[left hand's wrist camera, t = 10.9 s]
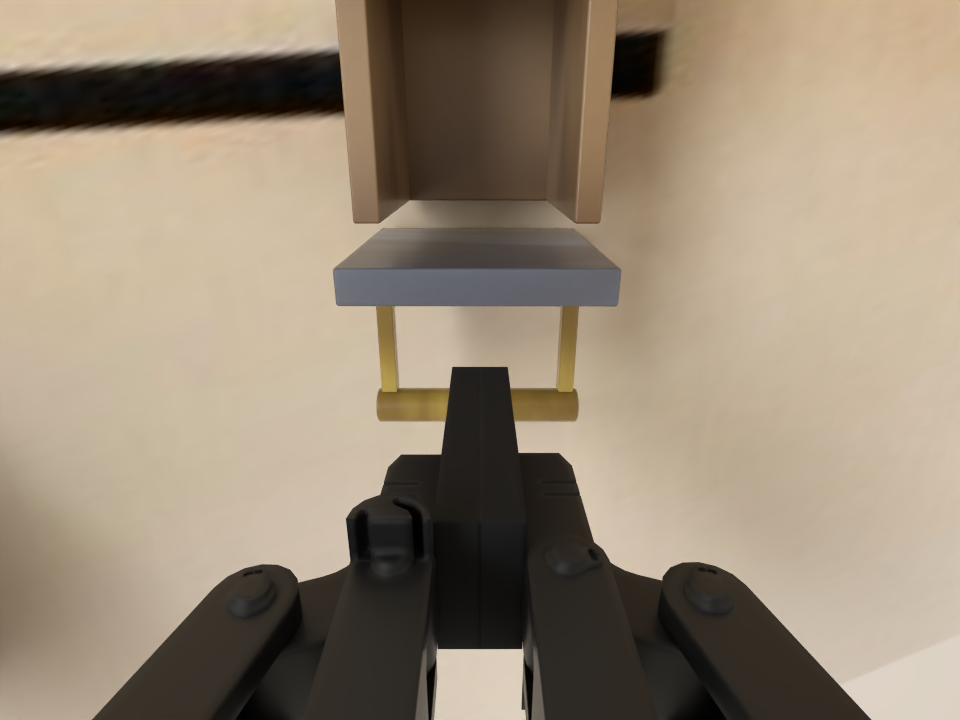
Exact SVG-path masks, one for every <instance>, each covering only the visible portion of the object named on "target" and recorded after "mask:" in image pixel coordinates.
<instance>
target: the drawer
mask: <svg viewBox="0 0 960 720" xmlns="http://www.w3.org/2000/svg"><path fill="white" fill-rule="evenodd" d="M335 4H336V16H337V28H338V40H339V52H340V64H341V77H342V89H343V101H344V113H345V125H346V137H347V150H348V162H349V174H350V186H351V198H352V210H353V222H354V223H380V222H381V221H383V220H384V219H385V218H387V217H388V216H389V215H391V214H392V213H393V212H395V211H396V210H397V209H399V208H400V207H401V206H403V205H404V204H405V203H407V202H408V201H409V200H547V201H548V202H549V203H551V204H552V205H553V206H554V207H556V208H557V209H558V210H559V211H561V212H562V213H563V214H564V215H566V216H567V217H568V218H570V219H571V220H572V221H573V222H575V223H586V224H597V223H600V221H601V210H602V198H603V185H604V173H605V160H606V148H607V136H608V123H609V111H610V98H611V86H612V73H613V61H614V49H615V36H616V24H617V11H618V0H335ZM333 276H334V286H335V296H336V304H337V305H338V306H376V311H377V325H378V339H379V353H380V367H381V381H382V388H380V389H379V391H378V395H377V416H378V420H379V421H405V422H446V414H447V406H448V399H449V391H450V388H399V375H398V357H397V340H396V323H395V306H561V311H560V329H559V346H558V363H557V381H556V387H557V388H510V391H511V399H512V406H513V414H514V422H575V421H576V420H577V417H578V408H579V404H578V394H577V391H576V389H574V388H573V383H574V369H575V354H576V340H577V326H578V312H579V306H617V305H618V299H619V289H620V279H621V269H620V268H619V267H617V266H616V265H615V264H614V263H613V262H612V261H611V260H609V259H608V258H607V257H606V256H605V255H604V254H602V253H601V252H600V251H599V250H598V249H597V248H596V247H594V246H593V245H592V244H591V243H590V242H589V241H587V240H586V239H585V238H584V237H583V236H582V235H580V234H579V233H578V232H577V231H576V230H575V229H540V228H383V229H381V230H380V231H379V232H378V233H376V234H375V235H374V236H373V237H372V238H370V239H369V240H368V241H367V242H365V243H364V244H363V245H362V246H361V247H359V248H358V249H357V250H356V251H355V252H353V253H352V254H351V255H350V256H349V257H347V258H346V259H345V260H344V261H342V262H341V263H340V264H339V265H338V266H336V267H335V268H334V269H333Z"/></svg>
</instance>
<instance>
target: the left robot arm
mask: <svg viewBox="0 0 960 720" xmlns="http://www.w3.org/2000/svg"><path fill="white" fill-rule="evenodd" d="M346 523H347V532H348V541H349V550H350V560H351V561H350V565H348V566H347V567H345V568H343V569H341V570H340V571H338V572H336V573H333V574H330V575H327V576H324V577H320V578H316V579H312V580H308V581H304V582H300V583H298V580H297V578H296V576H295V575H294V574H293V573H292V572H291V570H289V569H287V568H284V567H282V566H279V565H264V564H262V565H257V566H253V567H249V568H244V569H242V570H240V571H238V572H236V573H234V574H232V575H230V576H228V577H227V578H225V579H224V580H223V581H222V582H221V583H219V584H218V585H217V586H216V587H215V588H213V590H212V591H211V592H210V593H209V594H208V595H207V596H206V597H205V598H204V599H203V600H202V601H201V603H200V604H199V605H198V606H197V607H196V608H195V609H194V610H193V611H192V612H191V613H190V614H189V616H188V617H187V618H186V619H185V620H184V621H183V622H182V623H181V624H180V625H179V626H178V627H177V629H176V630H175V631H174V632H173V633H172V634H171V635H170V636H169V637H168V638H167V639H166V640H165V641H164V643H163V644H162V645H161V646H160V647H159V648H158V649H157V650H156V651H155V652H154V653H153V654H152V656H151V657H150V658H149V659H148V660H147V661H146V662H145V663H144V664H143V665H142V666H141V667H140V669H139V670H138V671H137V672H136V673H135V674H134V675H133V676H132V677H131V678H130V679H129V680H128V681H127V683H126V684H125V685H124V686H123V687H122V688H121V689H120V690H119V691H118V692H117V693H116V694H115V696H114V697H113V698H112V699H111V700H110V701H109V702H108V703H107V704H106V705H105V706H104V707H103V709H102V710H101V711H100V712H99V713H98V714H97V715H96V716H95V717H94V718H93V719H92V720H434V712H435V699H436V686H437V662H436V654H437V642H438V649H522V642H523V651H524V662H523V687H522V710H525V711H526V720H871V719H870V718H869V717H868V716H867V715H866V714H865V712H864V711H863V710H862V709H861V708H860V707H859V706H858V705H857V704H856V703H855V702H854V701H853V700H852V698H851V697H850V696H849V695H848V694H847V693H846V692H845V691H844V690H843V689H842V688H841V687H840V686H839V685H838V683H837V682H836V681H835V680H834V679H833V678H832V677H831V676H830V675H829V674H828V673H827V672H826V671H825V669H824V668H823V667H822V666H821V665H820V664H819V663H818V662H817V661H816V660H815V659H814V658H813V657H812V656H811V654H810V653H809V652H808V651H807V650H806V649H805V648H804V647H803V646H802V645H801V644H800V643H799V642H798V640H797V639H796V638H795V637H794V636H793V635H792V634H791V633H790V632H789V631H788V630H787V629H786V628H785V627H784V625H783V624H782V623H781V622H780V621H779V620H778V619H777V618H776V617H775V616H774V615H773V614H772V613H771V611H770V610H769V609H768V608H767V607H766V606H765V605H764V604H763V603H762V602H761V601H760V600H759V599H758V597H757V596H756V595H755V594H754V593H753V592H752V591H751V590H750V589H749V588H748V587H747V586H746V585H745V584H744V583H743V582H741V581H740V580H739V579H738V578H737V577H735V576H734V575H733V574H731V573H729V572H727V571H725V570H723V569H721V568H718V567H716V566H713V565H708V564H704V563H700V562H690V563H681V564H678V565H676V566H673V567H671V568H670V569H669V570H668V571H667V572H666V573H665V575H664V576H663V580H662V581H661V580H657V579H653V578H649V577H645V576H640V575H637V574H634V573H631V572H628V571H625V570H623V569H621V568H619V567H617V566H615V565H613V564H612V563H611V562H610V561H609V559H608V557H607V555H606V554H605V552H604V550H603V549H602V548H601V547H599V546H598V545H597V544H595V543H594V541H593V537H592V534H591V530H590V527H589V523H588V520H587V517H586V513H585V510H584V506H583V503H582V499H581V496H580V492H579V489H578V485H577V483H576V479H575V475H574V472H573V468H572V465H570V464H569V463H568V462H567V461H566V460H565V459H564V458H563V457H562V456H561V455H560V454H559V453H518V446H517V438H516V430H515V422H514V414H513V406H512V399H511V391H510V383H509V375H508V367H452V375H451V383H450V391H449V399H448V406H447V414H446V422H445V430H444V438H443V446H442V454H441V455H400V456H399V457H398V458H397V459H396V460H395V461H394V462H393V463H392V464H391V465H390V466H389V467H388V470H387V474H386V477H385V481H384V485H383V488H382V491H381V495H378V496H376V497H373V498H370V499H367V500H364V501H363V502H361V503H360V504H359V505H357V506H356V507H354V508H353V509H352V511H351V512H350V514H349V515H348V516H347V518H346Z"/></svg>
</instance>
